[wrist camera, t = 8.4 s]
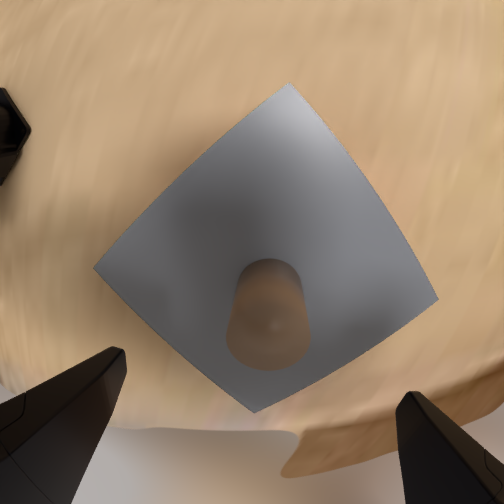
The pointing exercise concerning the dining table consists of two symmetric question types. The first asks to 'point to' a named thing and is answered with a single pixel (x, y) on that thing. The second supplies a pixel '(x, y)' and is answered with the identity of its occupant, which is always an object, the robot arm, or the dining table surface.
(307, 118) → the lid
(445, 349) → the dining table surface
